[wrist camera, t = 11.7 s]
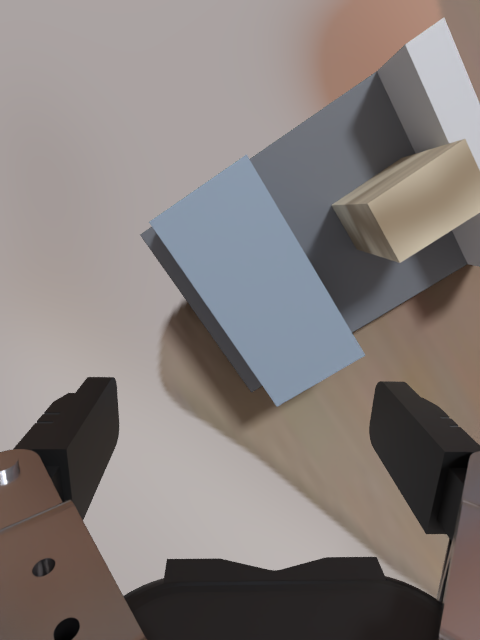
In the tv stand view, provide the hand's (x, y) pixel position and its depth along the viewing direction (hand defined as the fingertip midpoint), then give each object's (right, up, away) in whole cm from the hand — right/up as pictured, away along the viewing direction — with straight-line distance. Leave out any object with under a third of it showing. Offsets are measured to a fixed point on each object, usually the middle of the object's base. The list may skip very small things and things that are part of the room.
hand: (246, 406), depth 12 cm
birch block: (+10, +11, +17) cm, 23 cm away
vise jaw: (+1, +6, +18) cm, 19 cm away
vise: (+6, +10, +19) cm, 23 cm away
